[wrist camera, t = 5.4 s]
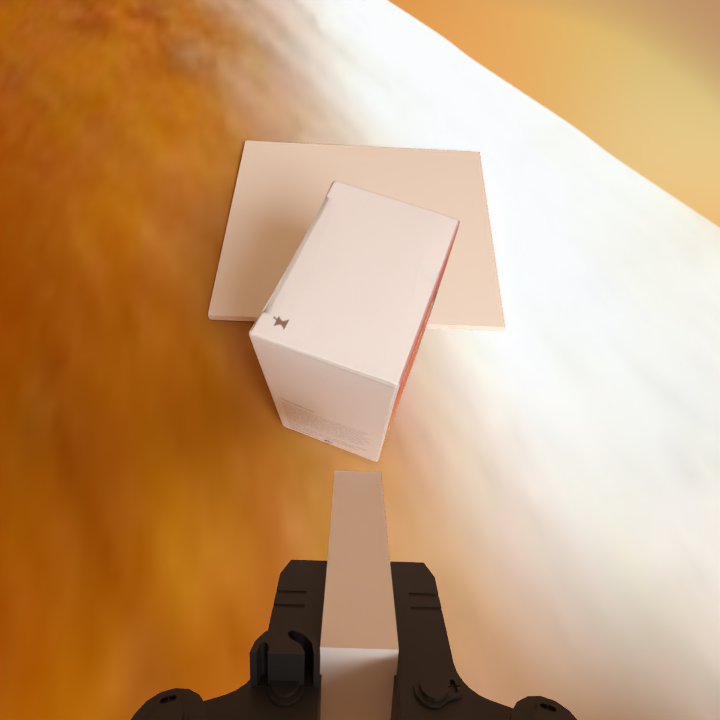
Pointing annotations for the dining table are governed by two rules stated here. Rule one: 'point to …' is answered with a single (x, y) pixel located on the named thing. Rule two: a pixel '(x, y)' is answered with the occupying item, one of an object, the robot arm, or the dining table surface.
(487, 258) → the beige mat
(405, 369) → the small box
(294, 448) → the dining table surface
